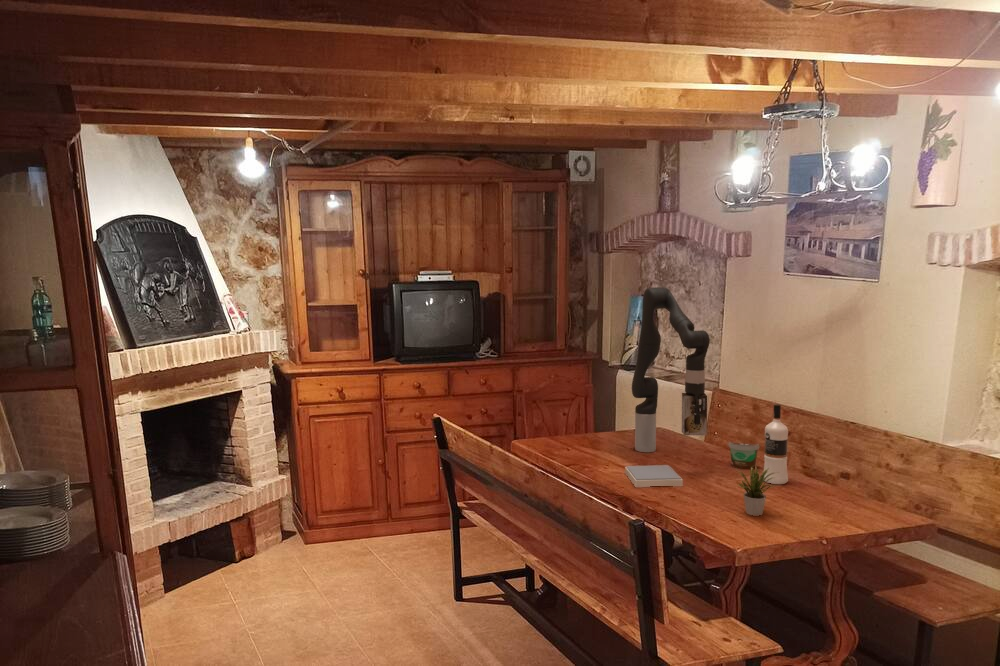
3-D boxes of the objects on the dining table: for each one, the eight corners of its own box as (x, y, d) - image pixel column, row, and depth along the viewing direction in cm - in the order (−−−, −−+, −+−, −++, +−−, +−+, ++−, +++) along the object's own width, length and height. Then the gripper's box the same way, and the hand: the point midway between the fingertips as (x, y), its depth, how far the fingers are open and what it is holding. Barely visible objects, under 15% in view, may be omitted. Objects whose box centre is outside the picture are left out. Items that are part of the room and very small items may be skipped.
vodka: (792, 484, 264) (794, 406, 262) (768, 485, 264) (770, 407, 261) (781, 477, 274) (783, 402, 271) (758, 477, 273) (760, 402, 270)
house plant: (789, 519, 229) (791, 470, 228) (753, 524, 225) (755, 474, 224) (761, 505, 243) (763, 459, 241) (727, 509, 239) (728, 462, 237)
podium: (625, 473, 281) (625, 465, 281) (669, 472, 282) (669, 464, 282) (635, 487, 263) (635, 479, 263) (682, 486, 264) (682, 478, 264)
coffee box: (704, 431, 281) (704, 392, 279) (707, 436, 274) (708, 395, 273) (680, 431, 282) (681, 392, 280) (683, 435, 275) (684, 395, 274)
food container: (726, 468, 287) (727, 444, 286) (727, 464, 293) (728, 440, 292) (758, 471, 282) (759, 446, 281) (759, 466, 288) (759, 443, 287)
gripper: (680, 378, 283) (679, 418, 285) (691, 384, 269) (690, 426, 270) (698, 377, 283) (697, 417, 285) (710, 383, 269) (709, 426, 271)
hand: (694, 421), depth 278 cm, fingers closed on coffee box, 7 cm apart
